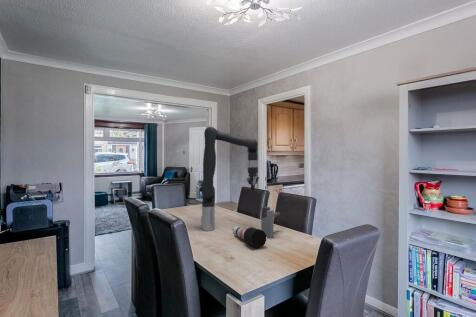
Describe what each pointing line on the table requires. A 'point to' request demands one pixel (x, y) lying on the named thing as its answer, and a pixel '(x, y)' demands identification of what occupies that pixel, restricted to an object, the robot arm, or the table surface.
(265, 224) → the clamp post
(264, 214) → the hold down bar
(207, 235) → the table surface
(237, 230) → the telephoto camera lens
